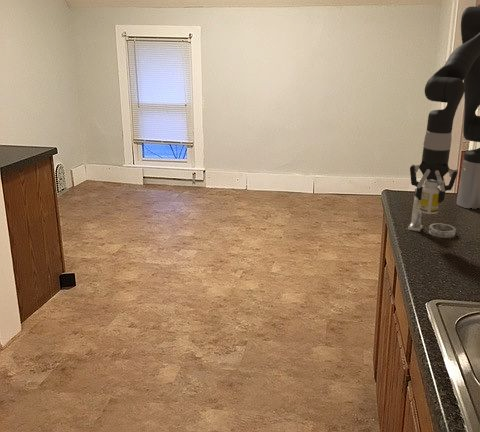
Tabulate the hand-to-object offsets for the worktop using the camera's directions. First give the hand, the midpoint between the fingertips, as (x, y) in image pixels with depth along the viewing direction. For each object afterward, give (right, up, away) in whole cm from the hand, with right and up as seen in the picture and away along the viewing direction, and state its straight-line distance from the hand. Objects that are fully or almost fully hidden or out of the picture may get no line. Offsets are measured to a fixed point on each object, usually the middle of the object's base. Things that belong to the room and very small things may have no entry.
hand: (429, 200), depth 172 cm
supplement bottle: (0, -4, +1) cm, 4 cm away
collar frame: (+5, -10, +12) cm, 17 cm away
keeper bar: (+3, +4, +16) cm, 17 cm away
